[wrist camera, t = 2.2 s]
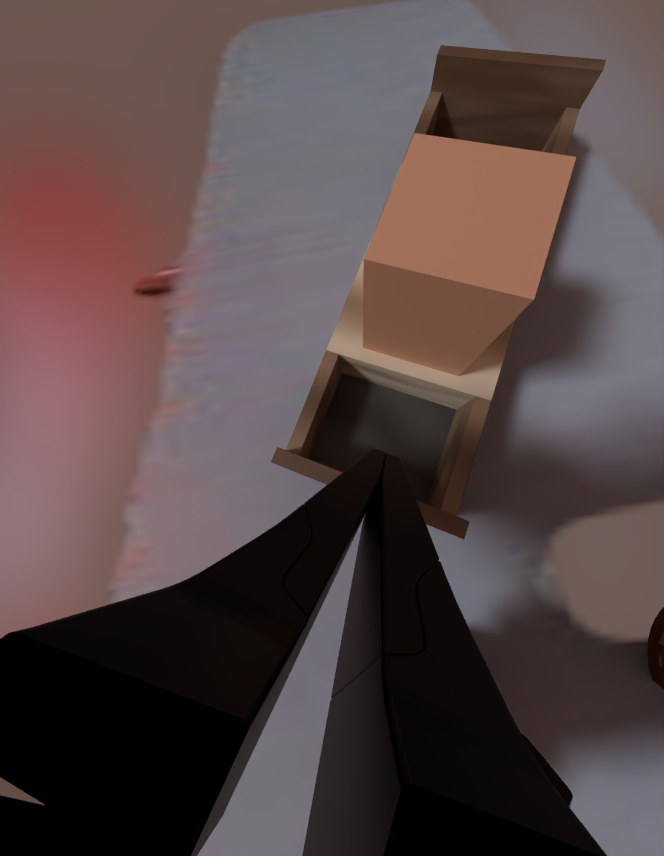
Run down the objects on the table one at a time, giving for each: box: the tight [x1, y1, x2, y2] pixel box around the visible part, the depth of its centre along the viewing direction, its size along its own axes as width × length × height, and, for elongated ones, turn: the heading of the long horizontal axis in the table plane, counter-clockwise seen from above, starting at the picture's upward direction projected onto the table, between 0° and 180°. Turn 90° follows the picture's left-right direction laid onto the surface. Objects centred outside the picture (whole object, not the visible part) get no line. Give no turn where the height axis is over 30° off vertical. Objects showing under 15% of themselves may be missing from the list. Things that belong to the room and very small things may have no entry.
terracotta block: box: [363, 133, 576, 376], centre depth 15 cm, size 7×7×8 cm
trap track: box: [271, 45, 606, 539], centre depth 20 cm, size 36×12×6 cm, turn 159°
